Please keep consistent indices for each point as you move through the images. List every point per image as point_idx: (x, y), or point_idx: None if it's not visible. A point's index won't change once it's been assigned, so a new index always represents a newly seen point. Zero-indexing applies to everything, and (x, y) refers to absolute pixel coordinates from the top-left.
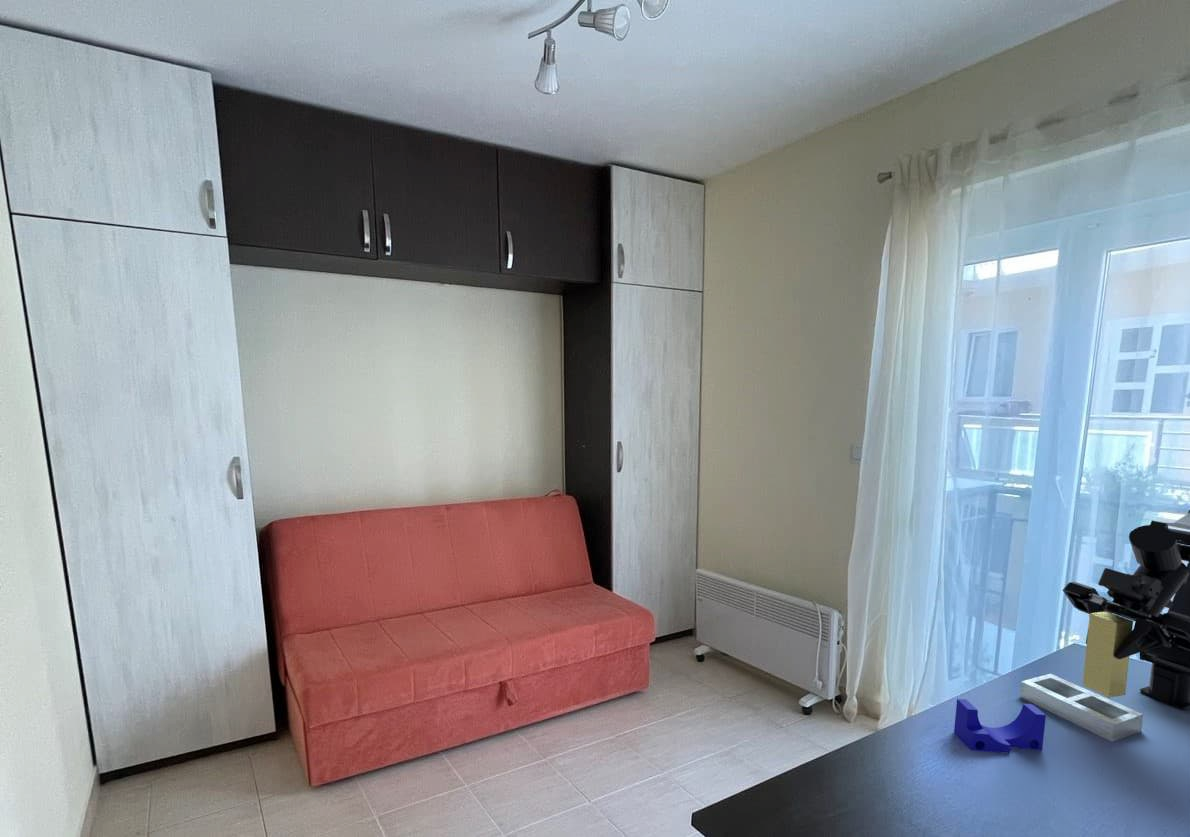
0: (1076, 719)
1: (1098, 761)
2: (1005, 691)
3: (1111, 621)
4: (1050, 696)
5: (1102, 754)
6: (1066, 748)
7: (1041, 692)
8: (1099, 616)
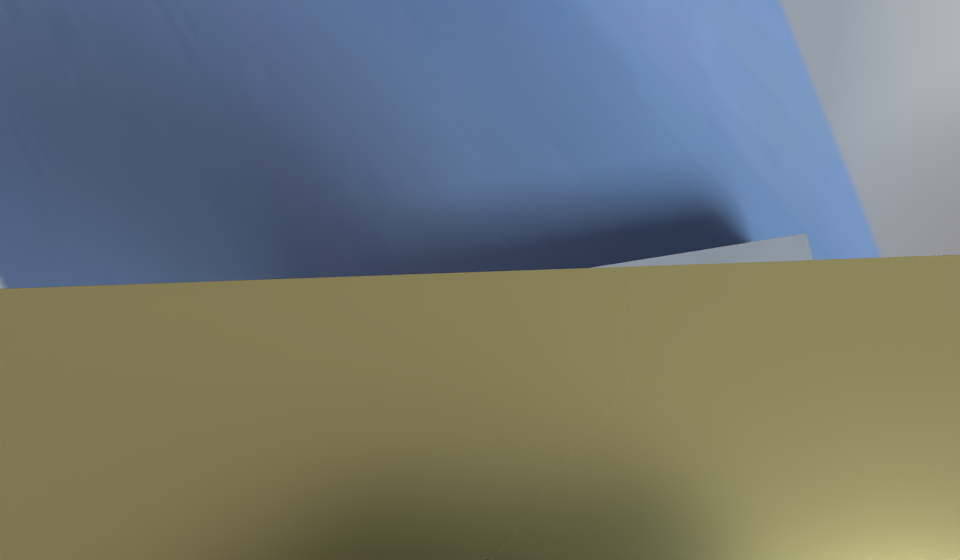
0: None
1: (227, 86)
2: (818, 227)
3: (216, 291)
4: (635, 261)
5: (261, 163)
6: (336, 38)
7: (684, 253)
8: (738, 296)
